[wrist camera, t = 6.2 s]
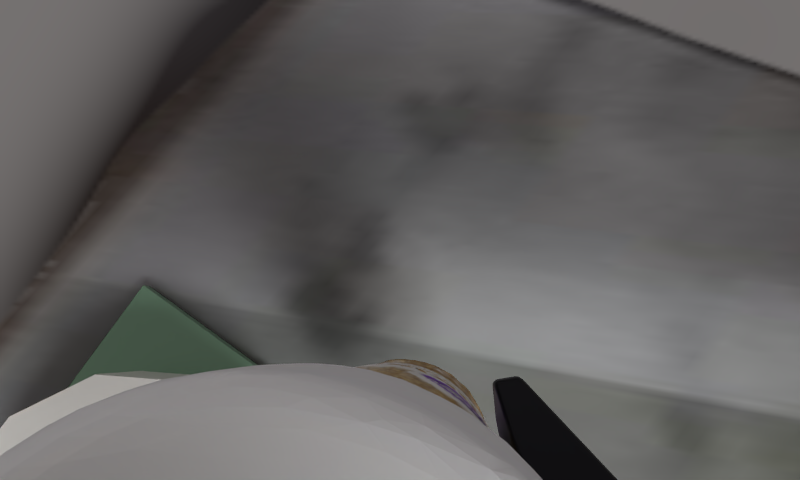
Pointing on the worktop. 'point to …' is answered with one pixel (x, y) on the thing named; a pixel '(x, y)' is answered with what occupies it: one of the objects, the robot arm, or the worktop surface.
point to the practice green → (131, 362)
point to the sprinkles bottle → (277, 429)
